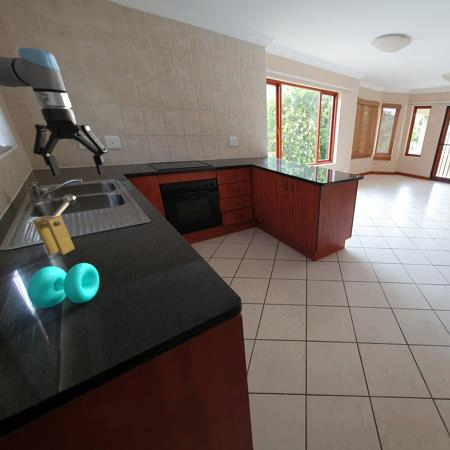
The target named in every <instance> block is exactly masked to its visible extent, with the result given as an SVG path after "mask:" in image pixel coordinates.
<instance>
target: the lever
mask: <svg viewBox="0 0 450 450" xmlns="http://www.w3.org/2000/svg"><path fill="white" fill-rule="evenodd" d="M62 200H63V201H62V202H63V203H61V205H59V207H58V208H57V210H55V212H54V213H53V214H52V215H51V216H50V218H45V219H44V221H43V222H42V223H41V225H42V226H43V227H45V228H46V229H49V227H48V225H47V223H46V220H49V219H51V218H54V217H56V216H61V214H62V213H63V212H64V211H65V210H66V208H68V206H69V205H73V204H75V203H76V202H77V197H76V196H75V195H74V194H65V195H64V196H63V197H62Z"/></svg>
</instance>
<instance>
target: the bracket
mask: <svg viewBox="0 0 450 450" xmlns="http://www.w3.org/2000/svg"><path fill="white" fill-rule="evenodd" d="M45 218H51V216H50V215H43V216H41V217H38V218H36V219H33V220H32V222H33V225H34V227H35V229H36V232H37V233H38V236H39V237H40V239H41V241H42V244H43V246H44V248H45V250H46V252H47V254H48V255H49V256H52V255H54V254H56V253H58V252H59V254H60V255H61V256H64V255H66V254H67V253H70V252H71V251H73V250H75V245H74V243H73V241H72V239H71V236H70V234H69V231H68V229H67V226H66V224H65V222H64V219H63V217H62V215H60V216H56V217H54V218H51V219H49V220H46V223H47V225H48V227H49V229H46V228H45V227H43V226H42V225H41V223H42V222H43V221H44V219H45Z"/></svg>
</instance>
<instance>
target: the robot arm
mask: <svg viewBox="0 0 450 450" xmlns="http://www.w3.org/2000/svg"><path fill="white" fill-rule="evenodd" d="M17 51H18V55H19V57H7V56H1V55H0V86H1V87H7V88H22V87H24V88H25V87H27V88H29V87H31V88H32V92H33V93H34V96H35V99H36V101H37V104H38V106H39V107H41V108H40V112H41V115H42V117H43V120H44V122H45V123H46V124H44V123H38V124H37V123H36V124H34V128H35V131H36V133H35V137H34V138H35V139H34V145H33V151H32V152H33V154H34V155H39V156H40V157H41V156H42V158H43V161H44V163H45V165H46V166H48V167H49V169H50V172H51V174H52V177H57V176H61V175H62V172H61V170H60V168H59V164H58V163H57V159H56V157H55V155H52V153H53V151H54V149H55V148H56V146H57V144H58V142H59V141H60V140H74V141H77V142H78V143H80V145H82V146H83V147H84V148H86V149H87V150H88V151H89V152H91V153H92V154H93V155H92V158H93V161H94V165H95V168H96V170H97V174H98V176H102V175H104V174H106V172H105V169H104V166H103V165H105V160H104V156H103V155H104V154H107V153H108V149H107V148H106V147H105V146H104V145H103V144H102V143H101V141H100V140H99V139H98V138H97V137H96V135H95V134H94V133H93V132H92V130H91V128H90V126H89V125H88V124H81V125H79V124H78V123H77V119H76V115H75V113H74V110H73V109H71V108H72V104H71V102H70V99H69V95H68V93H67V90H66V87H65V83H64V80H63V77H62V73H61V69H60V67H59V65H58V62H57V60H56V58H55V56H54V55H53V54H52V52H49V51H47V50H44V49H40V48H33V47H20V48H18V50H17ZM48 131H49V132H50V134H49V136H48V140H47V133H48ZM80 131H81V132H82V133H83V134H84V135H85V136H86V138H87V139H88V140H89V141H88V140H87V139H86V138H85V137H84V135H82V134H81V133H80Z"/></svg>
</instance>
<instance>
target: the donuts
mask: <svg viewBox="0 0 450 450" xmlns="http://www.w3.org/2000/svg"><path fill="white" fill-rule="evenodd" d="M65 271H66V270H64V269H62V268H61V267H58V266H54V265H53V266H52V265H51V266H50V265H49V266H45V267H42V268H40V269H38V270H37V271H36V272H35V273H34V274H33V275H32V276H31V278H30V279H29V282H28V285H27V294H28V295H27V296H28V298H29V300H30V302H31V303H32V304H33V305H34V306H36V307H38V308H43V309H48V308H52V307H55V306H57V305H58V304H60V303H61V302H63V301H64V299H65V298H66V299H68V300H69V301H71V302H72V303H75V304H84V303H88V302H89V301H91V300H92V299H93V298H94V297H95V296H96V294H97V293H98V290H99V288H100V287H99V286H100V275H99V272H98V270H97V269H96V267H95V266H94V265H92V264H90V263H87V262H81V263H77V264H75V265H73V266H72V267H71V268H70V269H68V271H67V272H65Z"/></svg>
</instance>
